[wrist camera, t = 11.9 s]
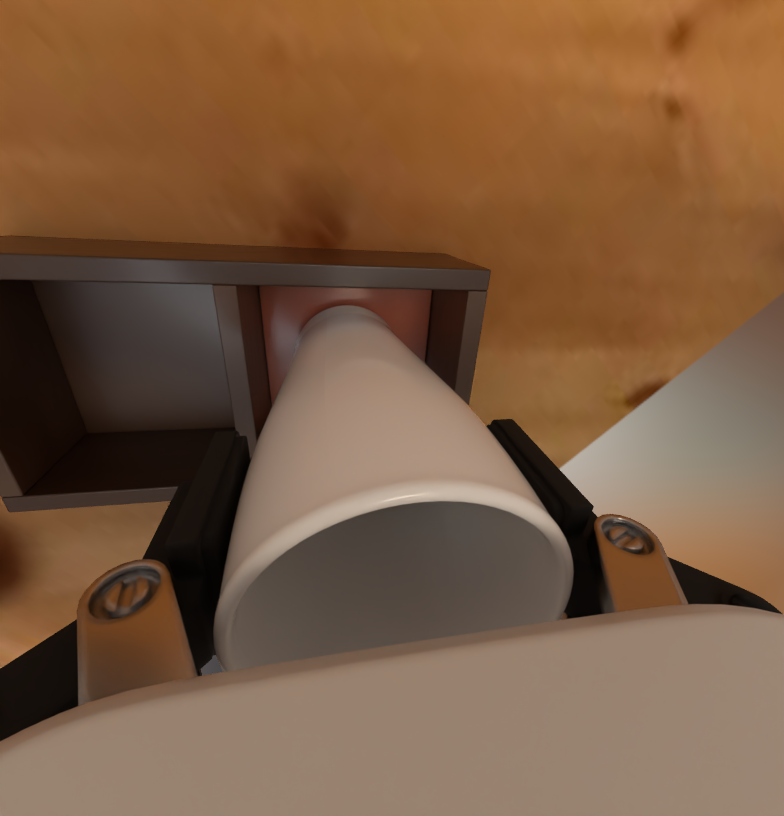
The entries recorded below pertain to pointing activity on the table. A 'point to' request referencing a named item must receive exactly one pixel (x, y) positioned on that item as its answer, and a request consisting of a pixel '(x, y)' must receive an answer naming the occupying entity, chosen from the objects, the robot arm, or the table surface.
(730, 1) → the table surface
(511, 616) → the tall white cup
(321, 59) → the table surface
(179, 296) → the divided wooden box
